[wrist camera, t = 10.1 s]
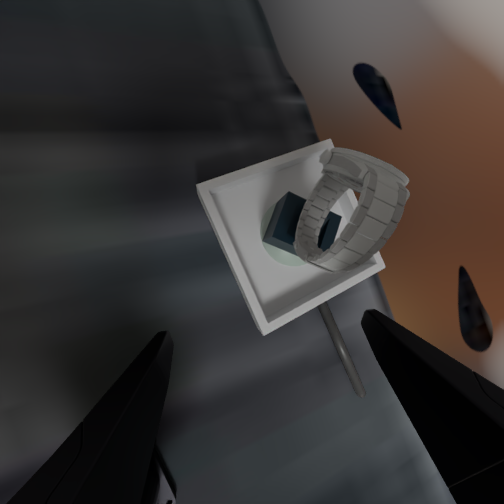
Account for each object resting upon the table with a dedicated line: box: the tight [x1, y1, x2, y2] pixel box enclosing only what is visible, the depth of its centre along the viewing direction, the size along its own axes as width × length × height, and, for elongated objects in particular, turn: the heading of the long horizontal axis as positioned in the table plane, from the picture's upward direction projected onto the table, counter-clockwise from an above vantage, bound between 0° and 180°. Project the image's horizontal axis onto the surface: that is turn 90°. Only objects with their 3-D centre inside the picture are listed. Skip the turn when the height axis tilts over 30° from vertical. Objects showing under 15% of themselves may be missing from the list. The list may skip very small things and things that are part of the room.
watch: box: [262, 148, 410, 274], centre depth 15 cm, size 6×8×11 cm
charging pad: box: [196, 139, 385, 398], centre depth 21 cm, size 27×15×3 cm, turn 24°
